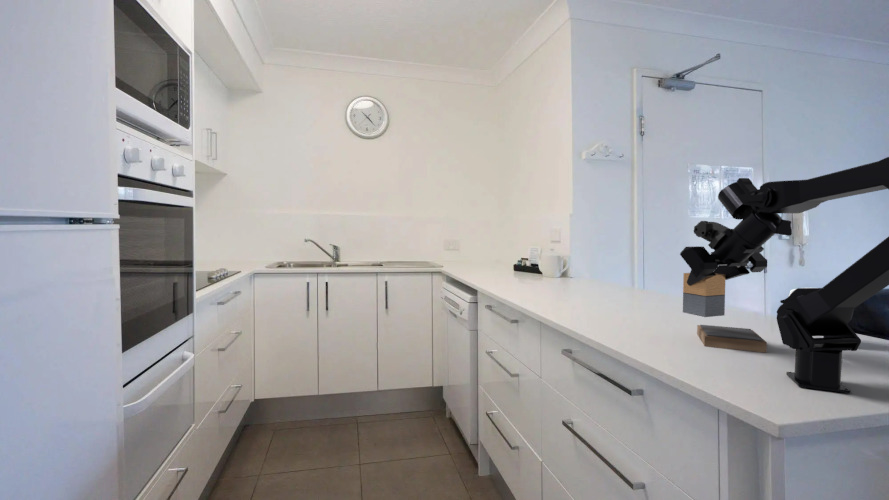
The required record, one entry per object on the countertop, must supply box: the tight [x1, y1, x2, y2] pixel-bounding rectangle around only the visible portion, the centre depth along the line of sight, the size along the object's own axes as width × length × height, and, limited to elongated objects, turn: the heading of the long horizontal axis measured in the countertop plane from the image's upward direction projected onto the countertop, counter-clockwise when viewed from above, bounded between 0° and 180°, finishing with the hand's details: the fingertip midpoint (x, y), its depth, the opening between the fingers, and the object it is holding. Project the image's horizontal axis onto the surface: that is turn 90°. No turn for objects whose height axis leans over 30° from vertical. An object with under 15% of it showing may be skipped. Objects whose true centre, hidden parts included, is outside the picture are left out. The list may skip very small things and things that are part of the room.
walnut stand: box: [696, 324, 768, 353], centre depth 93 cm, size 11×11×2 cm
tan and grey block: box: [682, 272, 726, 318], centre depth 91 cm, size 6×6×9 cm
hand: (698, 283), depth 93 cm, fingers closed on tan and grey block, 6 cm apart
